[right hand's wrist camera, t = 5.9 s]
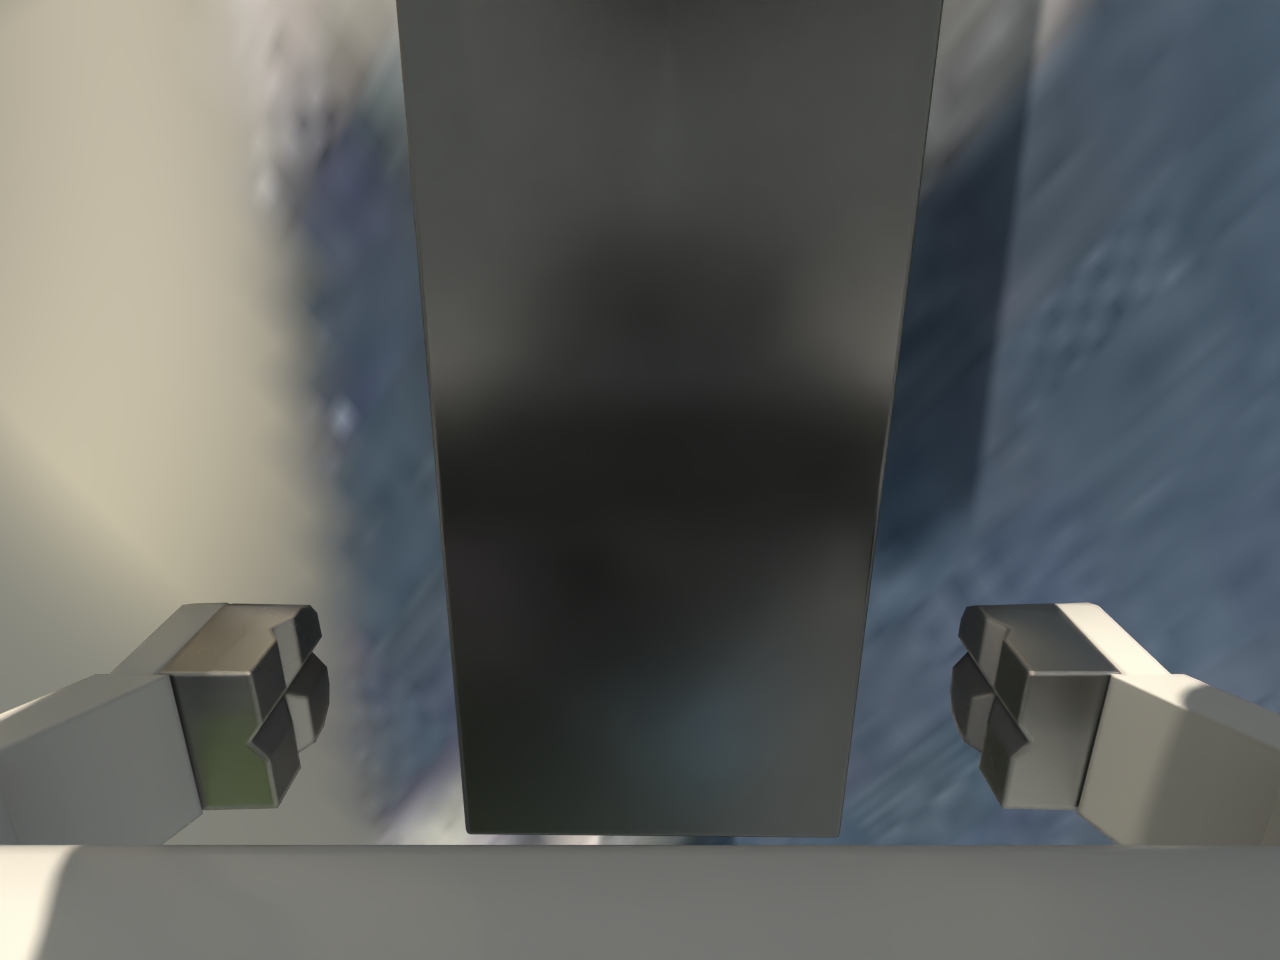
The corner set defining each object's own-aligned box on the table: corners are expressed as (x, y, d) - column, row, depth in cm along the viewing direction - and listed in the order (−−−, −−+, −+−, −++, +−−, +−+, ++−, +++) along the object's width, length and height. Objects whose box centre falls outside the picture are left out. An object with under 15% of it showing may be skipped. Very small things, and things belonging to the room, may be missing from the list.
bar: (759, 567, 22) (840, 840, 13) (536, 565, 22) (465, 836, 13) (843, -629, 14) (1209, -2081, 5) (489, -634, 14) (215, -2096, 5)
